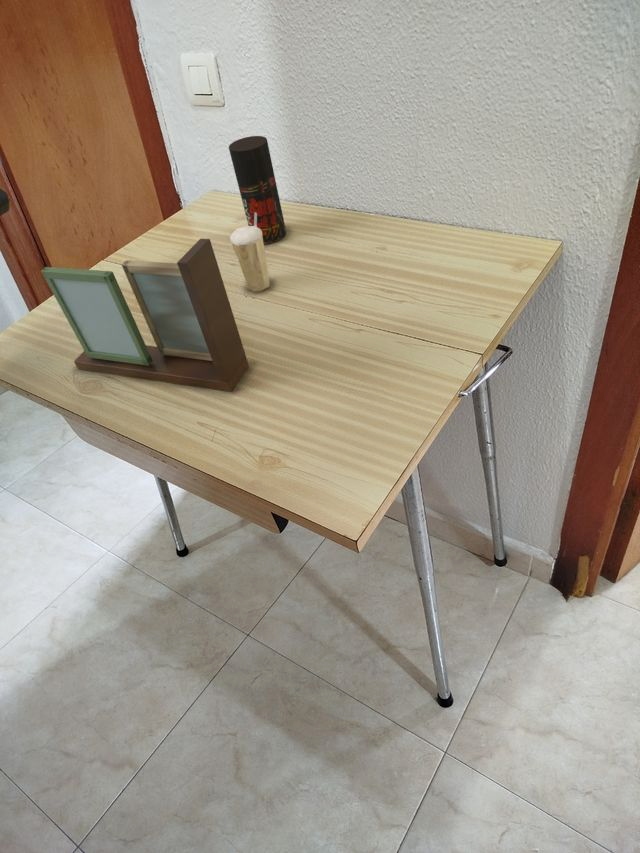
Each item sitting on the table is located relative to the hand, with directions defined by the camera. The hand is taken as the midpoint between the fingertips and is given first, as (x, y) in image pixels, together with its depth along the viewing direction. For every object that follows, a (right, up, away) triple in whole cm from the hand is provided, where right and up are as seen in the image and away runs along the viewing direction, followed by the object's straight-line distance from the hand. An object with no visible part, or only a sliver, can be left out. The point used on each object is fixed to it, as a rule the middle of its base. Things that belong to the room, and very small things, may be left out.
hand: (4, 208), depth 66 cm
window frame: (+14, -17, +11) cm, 25 cm away
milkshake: (+26, -3, +23) cm, 35 cm away
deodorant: (+27, +8, +34) cm, 44 cm away
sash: (+9, -16, +11) cm, 21 cm away
